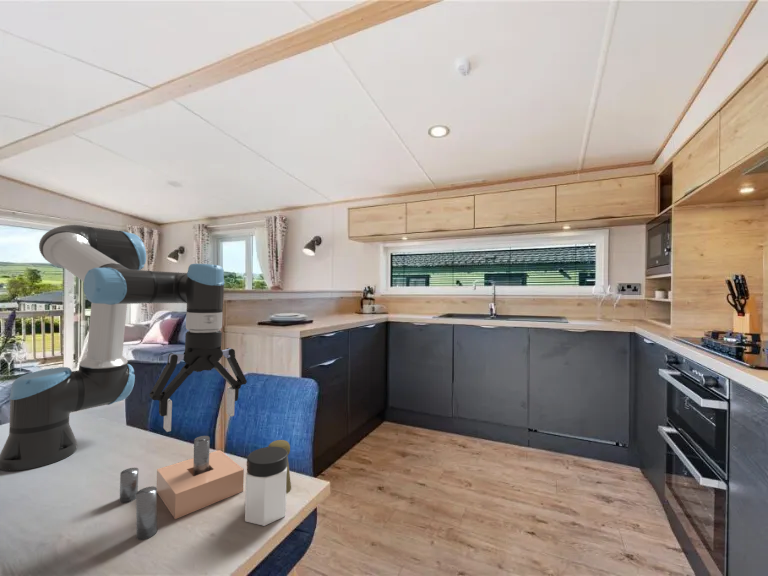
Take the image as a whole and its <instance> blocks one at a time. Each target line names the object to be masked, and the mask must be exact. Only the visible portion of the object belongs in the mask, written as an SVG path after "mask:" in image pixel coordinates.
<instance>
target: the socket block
mask: <svg viewBox="0 0 768 576" xmlns="http://www.w3.org/2000/svg"><path fill="white" fill-rule="evenodd" d="M193 464H194V457H192V458H189V459H185V460H183V461H180V462H177V463H172V464H169V465H166V466H163V467H160V468H157V469H156V486H155V487H156V488H157V495H158V496H159V497H160V499H161V500H162V502H163V504H164V506H166V508H167V510H168V511H169V512H170V514H171V516H172V517H173V518H174V520H177V519H179V518H182V517H184V516H186V515H190V514H191V513H193V512H196V511H198V510H200V509H203V508H206V507H208V506H210V505H214V504H215V503H218V502H220V501H223V500H225V499H228V498H230V497H232V496H234V495H238V494H240V493H242V492H244V480H245V479H244V478H245V477H244V475H245V474H244V472H245V471H244V468H243V467H241V466H240V465H239V464H238V463H237V462H235V461H234V460H233V459H232V458H231V457H229V456H228V455H227V454H225V453H224V452H223V451H222V450H221V449H219V450H215V451H212V452H209V471H208V472H205V473H202V474H199V475H196V476H193Z"/></svg>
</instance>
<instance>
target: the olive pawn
mask: <svg viewBox="0 0 768 576" xmlns="http://www.w3.org/2000/svg"><path fill="white" fill-rule="evenodd" d="M267 447H281V448H284V449H285V450H286V451H287V453H288V456H289V455H290V452H291V444H290V442H288V440H284V439H278V440H276V439H275V440H273V441H271V442H270V443H269V444H268V446H267ZM291 490H292V481H291V475H290V463H289V461H288V462H287V494H288V493H289V492H290V491H291Z"/></svg>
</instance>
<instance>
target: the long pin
mask: <svg viewBox="0 0 768 576" xmlns="http://www.w3.org/2000/svg"><path fill="white" fill-rule="evenodd" d="M210 443H211V442H210V436H209V435H200V436H198V437H196V438H194V439H193V458H194V464H193V476H196V475H199V474H202V473H205V472H208V471H209V453H210V448H211V447H210V445H211V444H210Z"/></svg>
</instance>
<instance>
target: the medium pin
mask: <svg viewBox="0 0 768 576" xmlns="http://www.w3.org/2000/svg"><path fill="white" fill-rule="evenodd" d="M135 502H136V504H135V505H136V506H135V509H136V511H135V514H136V515H135V516H136V517H135V521H136V522H135V524H136V526H135V527H136V530H135V532H136V533H135V536H136V539H137V540H140V541H143V540H148V539H149V538H151V537H153V536H154V535H155V534H157V532H158V519H157V518H158V493H157V488H156V486H154V485H152V486H146V487H143V488H141V489H138V492H137V493H136V499H135Z"/></svg>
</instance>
